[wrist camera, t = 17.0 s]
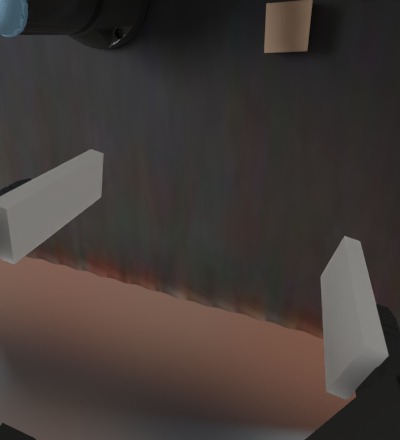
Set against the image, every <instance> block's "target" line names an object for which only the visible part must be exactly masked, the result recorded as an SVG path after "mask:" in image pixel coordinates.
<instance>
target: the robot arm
mask: <svg viewBox="0 0 400 440" xmlns="http://www.w3.org/2000/svg"><path fill="white" fill-rule="evenodd" d="M148 6H149V0H0V35H3V36H6V37H13V36H16V35H68V36H70V37H71V38H73V39H75V40H76V41H78V42H80V43H82V44H84V45H86V46H89V47H92V48H98V49H108V48H116V47H120V46H122V45H124V44H126V43H127V42H129V41H130V40H131V39H132V38H133V37H134V36H135V35H136V34H137V33H138V31H139V30H140V28H141V27H142V25H143V23H144V20H145V18H146V15H147V11H148ZM102 171H103V153H100V152H97V151H94V150H91V149H90V150H89V151H87V152H85V153H83V154H81V155H79V156H77V157H75V158H73V159H71V160H69V161H67V162H65V163H63V164H62V165H60V166H58V167H56V168H54V169H52V170H50V171H48V172H46V173H44V174H42V175H40V176H38V177H37V178H35V179H31V178H29V179H25V180H20V181H17V182H15V183H13V184H11V185H9V186H8V187H5V188H3V189H1V191H0V259H2V260H5V261H7V262H10V263H12V264H15V263H16V262H18V261H19V260H20V259H21V258H23V257H24V256H26V255H27V254H28V253H29V252H31V251H32V250H33V249H35V248H36V247H37V246H39V245H40V244H41V243H42V242H44V241H45V240H46V239H48V238H49V237H50V236H51V235H53V234H54V233H55V232H57V231H58V230H59V229H60V228H62V227H63V226H64V225H66V224H67V223H68V222H70V221H71V220H72V219H73V218H75V217H76V216H77V215H79V214H80V213H81V212H82V211H84V210H85V209H86V208H88V207H89V206H90V205H91V204H93V203H94V202H95V201H97V200H98V199H99V198H101V189H102ZM321 293H322V314H323V334H324V354H325V374H326V391H327V392H328V393H331V394H333V395H336V396H338V397H341V398H343V399H346V400H348V399H349V398H350V397H351V396H352V395H353V394H354V393H355V392H356V398H354V399H353V400H352V401H351V402H350V403H349V404H347V405H346V406H345V407H344V408H343V409H341V410H340V411H339V412H338V413H337V414H335V415H334V416H333V417H332V418H330V419H329V420H328V421H327V422H326V423H324V424H323V425H322V426H321V427H320V428H318V429H317V430H316V431H315V432H314V433H312V434H311V435H310V436H309V437H308V438H306V439H305V440H400V332H399V327H398V324H397V320H396V318H395V317H394V316H393V314H392V313H391V311H390V310H389V309H388V308H387V307H384V306H381V305H378V304H376V303H375V299H374V295H373V291H372V287H371V283H370V279H369V275H368V271H367V267H366V263H365V259H364V255H363V251H362V247H361V243H360V241H357V240H355V239H352V238H349V237H346V236H344V238H343V239H342V241H341V243H340V244H339V246H338V248H337V250H336V251H335V253H334V255H333V256H332V258H331V260H330V261H329V263H328V265H327V267H326V268H325V270H324V272H323V273H322V275H321ZM0 440H36V439H35V438H33V437H31V436H29V435H27V434H25V433H23V432H21V431H19V430H16V429H14V428H12V427H10V426H8V425H6V424H4V423H2V425H1V426H0Z"/></svg>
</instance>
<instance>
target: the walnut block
mask: <svg viewBox="0 0 400 440" xmlns="http://www.w3.org/2000/svg"><path fill="white" fill-rule="evenodd" d="M312 1H313V0H302V1H290V2H278V3H266V24H265V47H264V53H275V52H298V51H307V50H308V40H309V31H310V21H311V11H312Z"/></svg>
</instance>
